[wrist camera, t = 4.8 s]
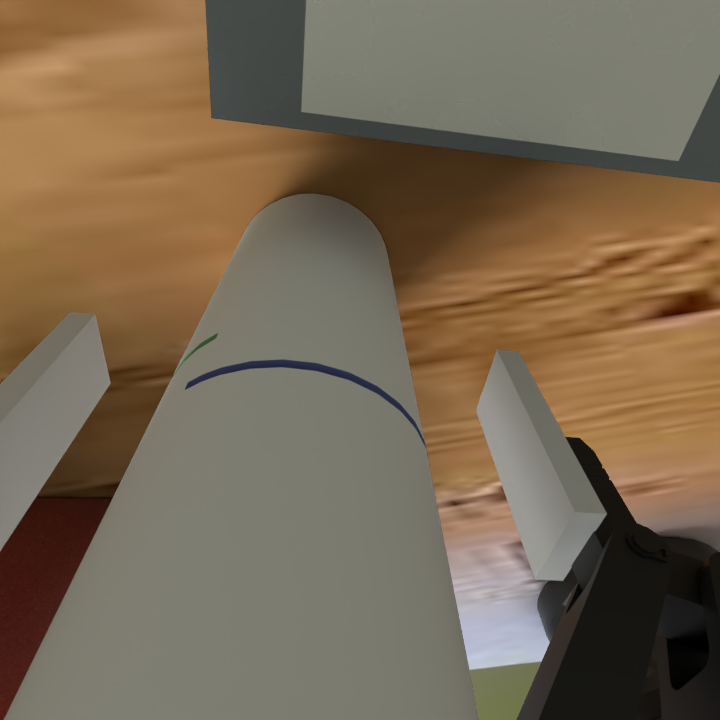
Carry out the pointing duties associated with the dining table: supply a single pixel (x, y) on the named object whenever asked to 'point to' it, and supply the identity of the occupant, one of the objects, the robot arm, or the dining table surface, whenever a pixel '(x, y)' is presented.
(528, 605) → the dining table surface
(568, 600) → the robot arm
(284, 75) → the grey rectangular block
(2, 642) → the plant pot
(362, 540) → the cylindrical container
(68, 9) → the dining table surface
